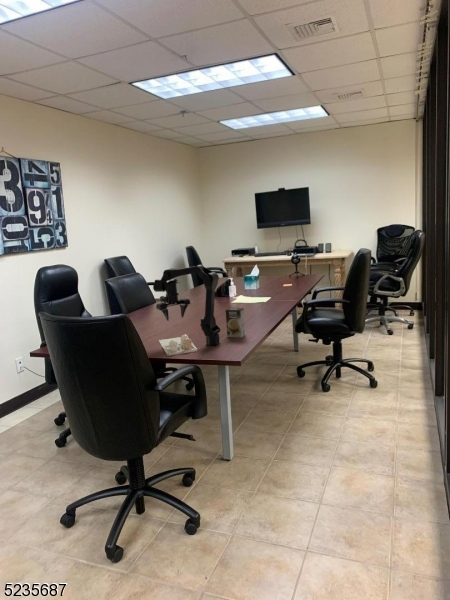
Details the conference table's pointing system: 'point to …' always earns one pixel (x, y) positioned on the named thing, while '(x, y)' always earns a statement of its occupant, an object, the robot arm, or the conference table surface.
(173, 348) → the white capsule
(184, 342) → the brown egg
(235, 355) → the conference table surface
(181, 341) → the cream egg back
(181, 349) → the egg carton
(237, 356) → the conference table surface
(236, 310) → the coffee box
